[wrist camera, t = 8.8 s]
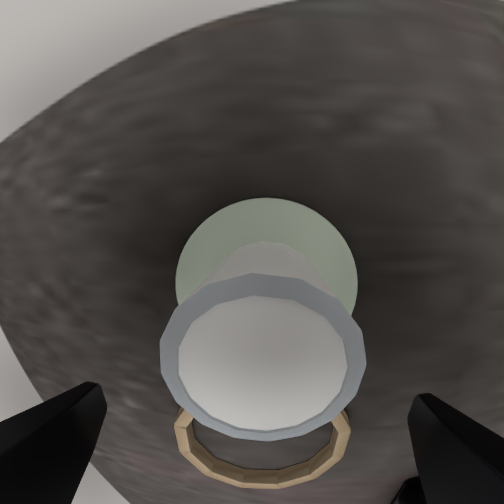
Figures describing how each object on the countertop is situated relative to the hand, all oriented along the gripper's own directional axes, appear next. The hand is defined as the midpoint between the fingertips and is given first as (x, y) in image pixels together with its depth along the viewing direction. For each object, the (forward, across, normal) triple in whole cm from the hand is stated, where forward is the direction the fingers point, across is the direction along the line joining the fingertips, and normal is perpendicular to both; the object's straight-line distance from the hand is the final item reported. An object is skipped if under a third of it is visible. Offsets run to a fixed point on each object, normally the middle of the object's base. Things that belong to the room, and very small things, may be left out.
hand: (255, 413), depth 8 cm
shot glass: (+9, 0, 0) cm, 9 cm away
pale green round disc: (+10, 0, 0) cm, 10 cm away
